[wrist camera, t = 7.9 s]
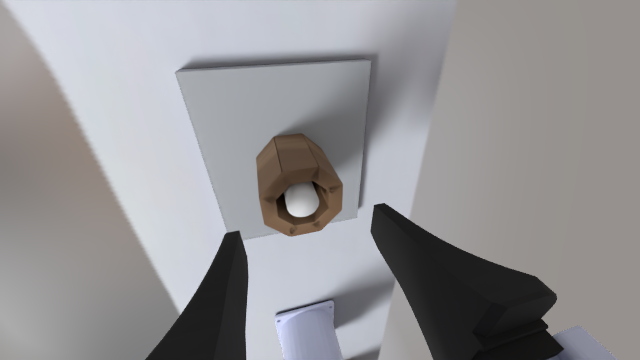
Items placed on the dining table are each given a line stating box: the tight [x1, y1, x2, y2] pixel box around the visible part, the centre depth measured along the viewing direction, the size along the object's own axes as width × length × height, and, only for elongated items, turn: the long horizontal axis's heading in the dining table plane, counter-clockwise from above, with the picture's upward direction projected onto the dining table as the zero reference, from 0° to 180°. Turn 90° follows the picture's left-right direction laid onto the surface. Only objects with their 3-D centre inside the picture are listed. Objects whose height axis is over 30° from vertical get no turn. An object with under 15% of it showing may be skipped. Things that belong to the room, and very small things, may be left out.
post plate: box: [175, 59, 371, 240], centre depth 17 cm, size 14×12×6 cm
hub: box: [256, 133, 343, 236], centre depth 16 cm, size 5×5×5 cm
